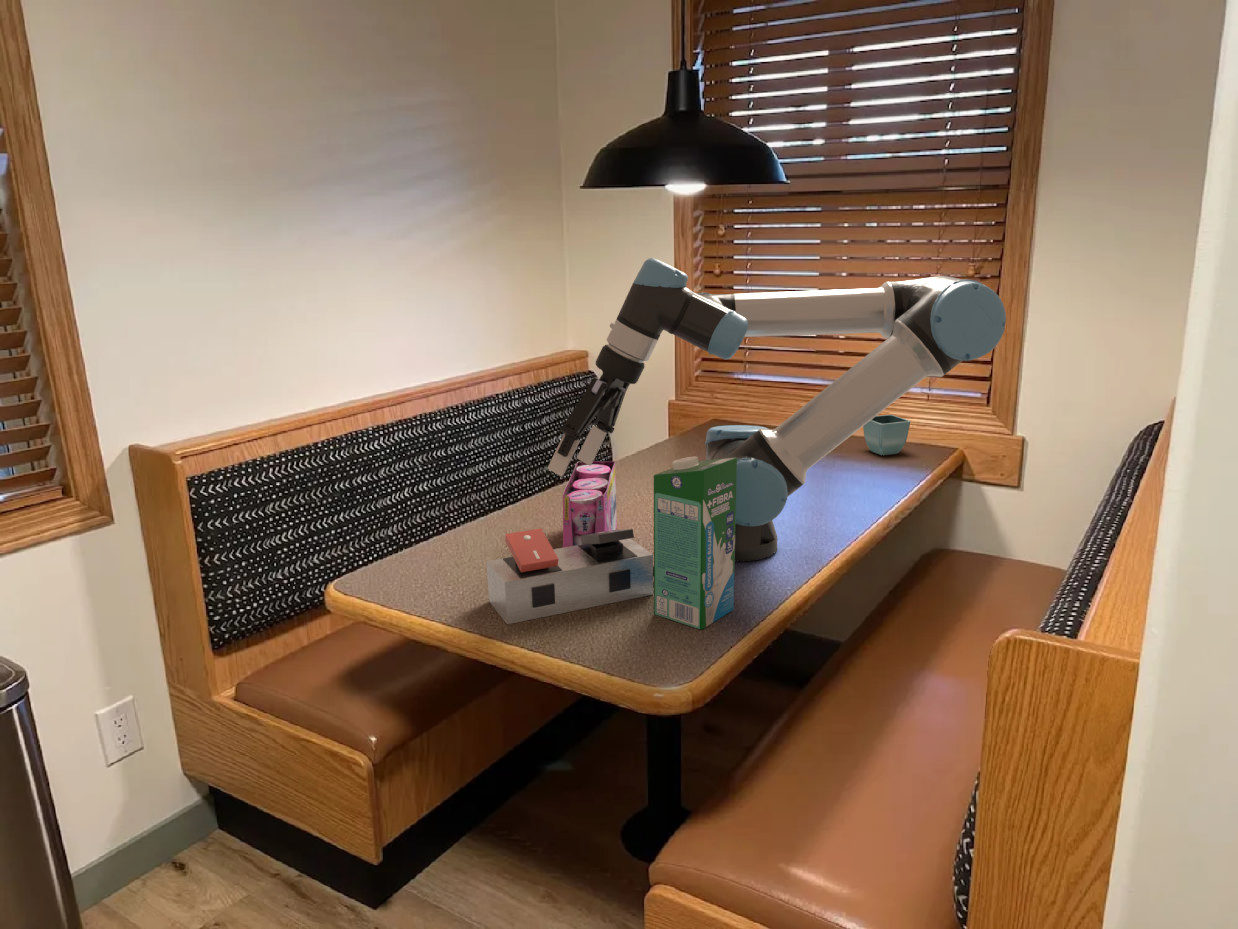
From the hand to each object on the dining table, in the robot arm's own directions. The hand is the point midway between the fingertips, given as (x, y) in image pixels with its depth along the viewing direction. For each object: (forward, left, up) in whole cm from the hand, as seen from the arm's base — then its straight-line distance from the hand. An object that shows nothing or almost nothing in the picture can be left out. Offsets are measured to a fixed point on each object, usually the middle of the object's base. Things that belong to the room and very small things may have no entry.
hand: (570, 467), depth 150 cm
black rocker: (-6, +7, -10) cm, 13 cm away
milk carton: (-20, +15, -20) cm, 32 cm away
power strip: (-3, +8, -20) cm, 21 cm away
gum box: (-3, -15, -20) cm, 25 cm away
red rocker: (+6, +12, -10) cm, 17 cm away
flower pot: (-76, -79, -20) cm, 111 cm away
